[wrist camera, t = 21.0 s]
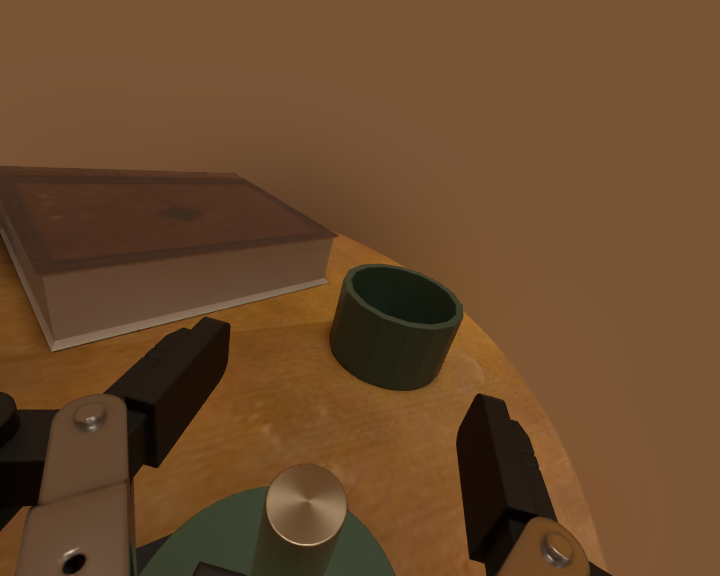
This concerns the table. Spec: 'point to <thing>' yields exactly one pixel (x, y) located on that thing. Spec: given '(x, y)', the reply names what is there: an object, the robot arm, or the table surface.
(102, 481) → the robot arm
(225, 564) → the tin lid
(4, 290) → the table surface
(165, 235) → the book
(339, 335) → the tin
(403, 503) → the table surface
